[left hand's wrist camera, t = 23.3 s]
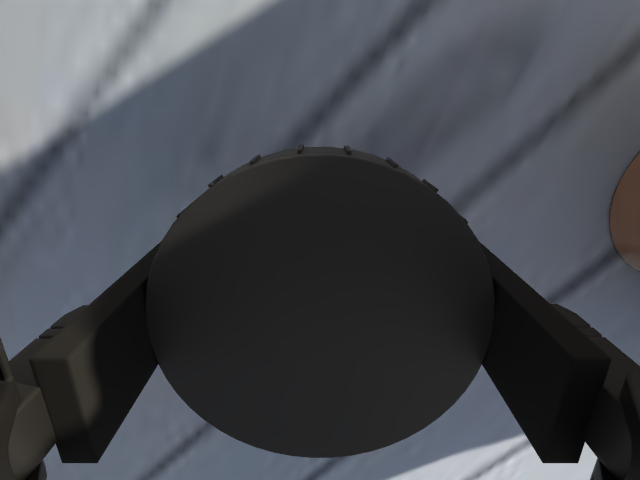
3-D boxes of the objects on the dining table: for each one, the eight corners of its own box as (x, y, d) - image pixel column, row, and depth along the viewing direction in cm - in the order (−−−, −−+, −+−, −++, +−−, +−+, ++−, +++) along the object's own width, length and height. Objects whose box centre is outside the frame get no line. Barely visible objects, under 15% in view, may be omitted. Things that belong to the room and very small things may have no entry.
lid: (533, 310, 12) (566, 342, 11) (310, 459, 14) (309, 503, 13) (335, 63, 10) (337, 55, 8) (102, 290, 12) (69, 320, 10)
